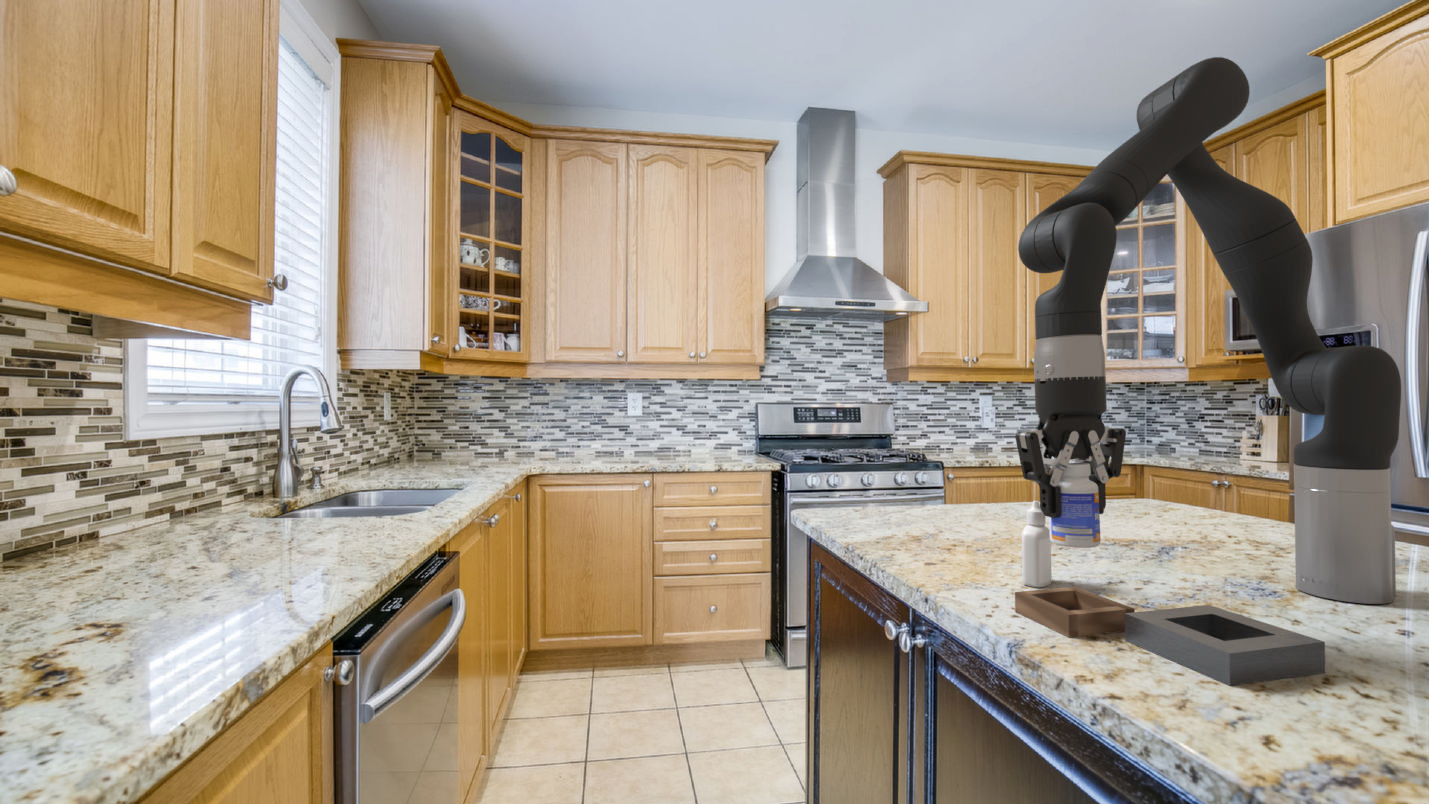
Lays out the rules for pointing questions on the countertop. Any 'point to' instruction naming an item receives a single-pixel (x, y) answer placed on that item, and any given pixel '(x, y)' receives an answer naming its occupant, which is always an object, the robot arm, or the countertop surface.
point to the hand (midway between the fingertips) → (1073, 514)
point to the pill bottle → (1077, 509)
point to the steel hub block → (1225, 644)
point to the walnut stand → (1085, 618)
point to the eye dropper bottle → (1036, 549)
